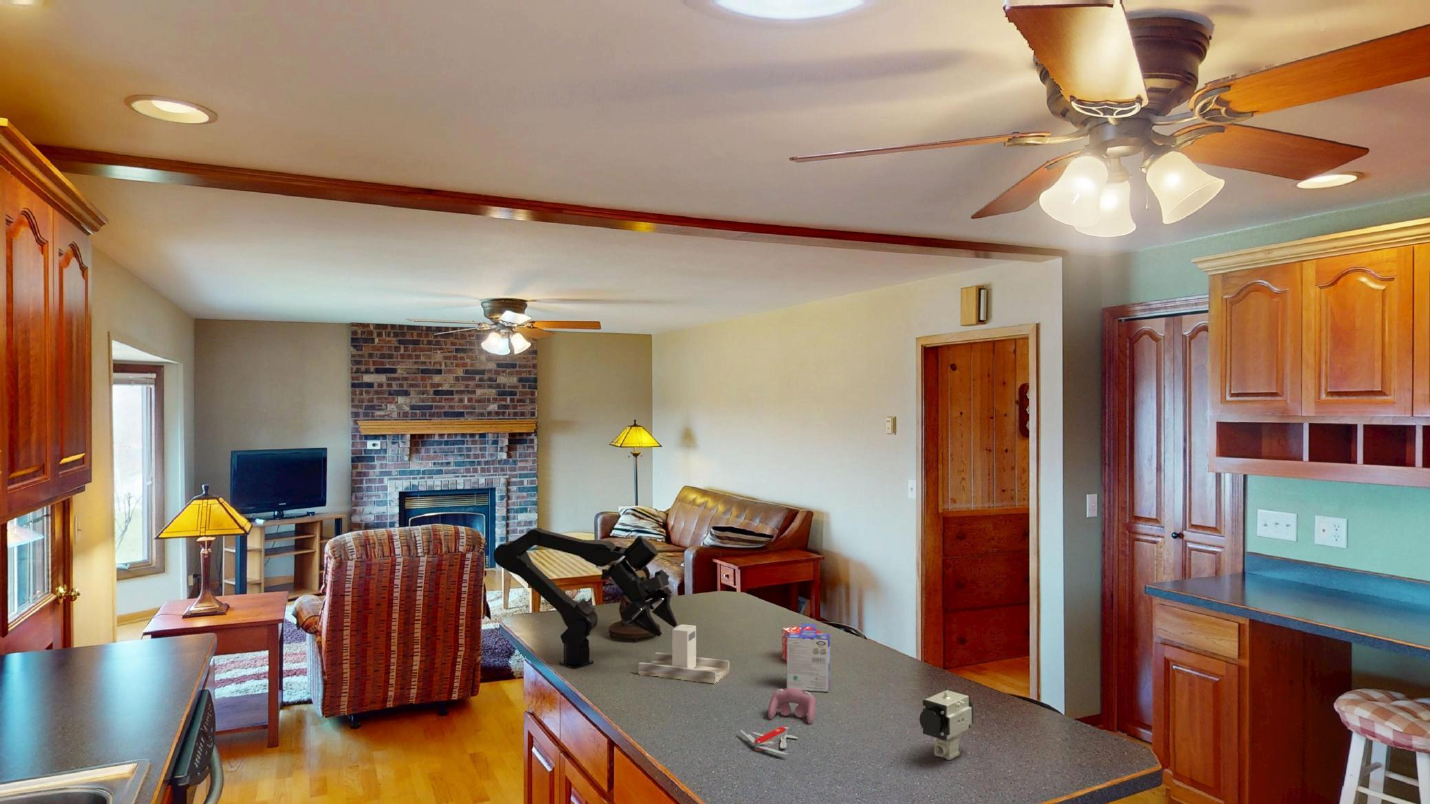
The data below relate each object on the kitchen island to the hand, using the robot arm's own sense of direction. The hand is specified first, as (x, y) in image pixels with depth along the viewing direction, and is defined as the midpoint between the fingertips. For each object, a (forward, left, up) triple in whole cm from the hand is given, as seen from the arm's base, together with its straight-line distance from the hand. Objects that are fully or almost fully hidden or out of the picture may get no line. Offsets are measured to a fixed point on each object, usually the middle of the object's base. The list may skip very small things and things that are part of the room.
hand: (668, 630), depth 207 cm
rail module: (+4, +2, -9) cm, 10 cm away
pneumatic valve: (+75, -2, -10) cm, 76 cm away
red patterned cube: (+20, +29, -10) cm, 37 cm away
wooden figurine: (-30, +17, -10) cm, 36 cm away
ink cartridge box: (+33, +13, -10) cm, 37 cm away
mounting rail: (+4, +2, -10) cm, 11 cm away
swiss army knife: (+46, -18, -11) cm, 51 cm away
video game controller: (+41, -5, -10) cm, 43 cm away
